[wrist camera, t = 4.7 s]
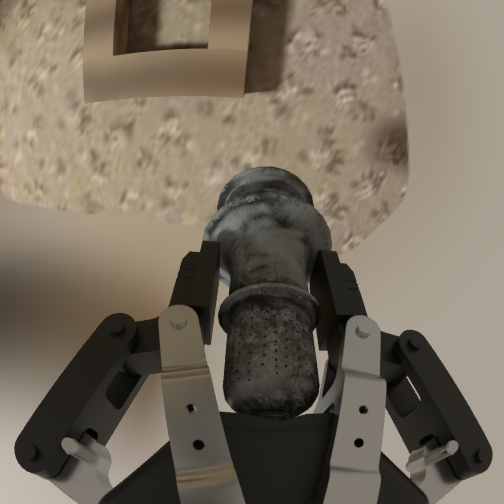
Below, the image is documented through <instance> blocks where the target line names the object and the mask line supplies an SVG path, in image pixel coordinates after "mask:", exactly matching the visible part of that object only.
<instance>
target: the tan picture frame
mask: <svg viewBox="0 0 504 504" xmlns="http://www.w3.org/2000/svg"><path fill="white" fill-rule="evenodd" d="M130 3H131V0H87V3H86V13H85V27H84V53H83V74H84V101H85V103H92V102H99V101H107V100H117V99H128V98H141V97H160V96H219V97H238V98H243V97H244V94H245V85H246V74H247V63H248V53H249V43H250V32H251V23H252V13H253V4H254V0H212V5H211V16H210V26H209V38H208V49H175V50H160V51H148V52H139V53H131V54H127V46H128V27H129V14H130Z"/></svg>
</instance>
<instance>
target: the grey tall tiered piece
mask: <svg viewBox="0 0 504 504" xmlns="http://www.w3.org/2000/svg"><path fill="white" fill-rule="evenodd" d="M203 240H206V241H219V242H220V243H221V247H220V278H219V281H221V282H223V283H224V284H225V285H227V286H229V287H230V288H229V296H228V297H227V298H226V299H225V300H224V301H223V303H222V304H221V306H220V309H219V312H218V319H219V324H220V326H221V327H222V329H223V331H224V332H226V333H227V343H226V356H225V367H224V380H223V391H224V396H225V400H226V402H227V403H228V404H229V406H230V407H231V408H232V409H233V410H234V411H235V412H237V413H245V414H249V415H253V416H256V417H260V418H264V419H268V420H272V421H282V420H286V419H290V418H294V417H297V416H299V415H300V414H301V413H303V412H305V411H306V410H308V409H309V408H310V407H311V406H312V405H313V403H314V402H315V400H316V398H317V396H318V393H319V386H320V385H319V378H318V369H317V361H316V354H315V346H314V339H313V330H314V329H315V328H316V326H317V325H318V323H319V321H320V317H321V312H320V306H319V303H318V302H317V300H316V299H315V297H314V296H312V295H311V294H310V293H309V292H308V285H307V284H309V283H310V277H311V273H312V270H313V266H314V263H315V259H316V256H317V253H318V251H319V250H327V251H331V248H332V240H331V233H330V229H329V227H328V225H327V223H326V221H325V219H324V217H323V216H322V215H321V214H320V213H319V212H318V211H317V210H316V209H315V208H314V205H313V200H312V195H311V193H310V192H309V190H308V188H307V186H306V185H305V184H304V183H303V182H302V181H301V180H300V179H299V178H298V177H297V176H296V175H294V174H292V173H290V172H289V171H287V170H284V169H280V168H276V167H256V168H252V169H248V170H245V171H243V172H241V173H240V174H238V175H236V176H234V177H233V178H232V179H231V180H230V181H229V182H228V183H227V184H226V185H225V187H224V189H223V190H222V192H221V194H220V196H219V201H218V206H217V212H216V213H215V214H214V215H213V216H212V217H211V219H210V221H209V223H208V225H207V226H206V228H205V230H204V236H203Z"/></svg>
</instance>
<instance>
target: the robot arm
mask: <svg viewBox="0 0 504 504" xmlns="http://www.w3.org/2000/svg"><path fill="white" fill-rule="evenodd" d="M220 247H221V243H220V242H219V241H206V240H203V242H202V246H201V250H200V252H191V251H190V252H189V253H188V254H187V255H186V256H185V257H184V258H183V259H182V262H181V266H180V270H179V273H178V277H177V279H176V283H175V286H174V290H173V293H172V297H171V300H170V304H169V307H168V308H166V309H165V310H164V311H163V312H162V313H161V314H160V316H159V317H157V318H154V319H150V320H144V321H138V322H135V321H134V319H133V318H132V317H131V316H129V315H127V314H124V313H116V314H112V315H110V316H108V317H106V318H105V319H104V320H103V321H102V323H101V324H100V325H99V326H98V327H97V329H96V330H95V331H94V333H93V334H92V335H91V336H90V338H89V339H88V340H87V341H86V343H85V344H84V345H83V346H82V348H81V349H80V350H79V352H78V353H77V354H76V356H75V357H74V358H73V359H72V361H71V362H70V363H69V365H68V366H67V367H66V369H65V370H64V371H63V373H62V374H61V375H60V377H59V378H58V379H57V381H56V382H55V383H54V385H53V386H52V388H51V389H50V390H49V392H48V393H47V395H46V396H45V398H44V399H43V400H42V402H41V403H40V405H39V406H38V408H37V409H36V411H35V412H34V413H33V415H32V416H31V418H30V419H29V421H28V422H27V424H26V426H25V427H24V429H23V430H22V432H21V433H20V435H19V436H18V438H17V440H16V442H15V447H14V448H15V449H14V450H15V456H16V459H17V461H18V463H19V464H20V466H21V467H22V468H23V469H25V470H26V471H28V472H30V473H33V474H35V475H38V476H40V477H42V478H44V479H47V480H49V481H51V482H52V483H53V484H54V485H55V486H57V487H58V488H59V489H60V490H61V491H63V492H64V493H65V494H67V495H68V496H69V497H70V498H72V499H73V500H74V501H76V502H77V503H78V504H435V503H436V502H437V501H439V500H440V499H441V498H442V497H444V496H445V495H446V494H447V493H448V492H450V491H451V490H452V489H453V488H454V487H455V486H456V485H457V484H459V483H460V482H461V481H462V480H465V479H468V478H470V477H473V476H475V475H478V474H480V473H483V472H484V471H486V470H487V469H488V467H489V466H490V464H491V461H492V448H491V446H490V444H489V442H488V440H487V438H486V436H485V434H484V432H483V430H482V428H481V427H480V425H479V423H478V421H477V419H476V418H475V416H474V414H473V412H472V411H471V409H470V407H469V405H468V404H467V402H466V400H465V399H464V397H463V395H462V394H461V392H460V390H459V389H458V387H457V385H456V384H455V382H454V381H453V379H452V377H451V376H450V374H449V373H448V371H447V370H446V368H445V367H444V365H443V363H442V362H441V360H440V359H439V357H438V356H437V354H436V353H435V351H434V350H433V349H432V347H431V346H430V344H429V343H428V341H427V340H426V338H425V337H424V336H423V335H422V334H421V333H419V332H417V331H414V330H406V331H404V332H403V333H402V334H401V335H400V336H395V335H392V334H388V333H385V332H382V331H380V328H379V326H378V325H377V323H376V322H375V321H373V320H372V319H371V318H369V317H368V316H367V313H366V309H365V306H364V303H363V300H362V297H361V293H360V291H359V287H358V284H357V283H356V278H355V275H354V272H353V271H352V270H351V269H350V267H349V266H348V265H347V264H343V263H340V261H339V258H338V255H337V252H336V251H327V250H319V251H318V253H317V256H316V259H315V263H314V266H313V270H312V273H311V277H310V294H311V295H312V296H314V297H315V299H316V300H317V302H318V303H319V306H320V312H321V317H320V321H319V323H318V325H317V326H316V332H317V339H318V345H319V350H320V351H325V350H326V351H328V359H327V360H326V363H325V368H324V374H323V379H322V384H321V389H320V395H319V400H318V403H317V405H316V408H315V410H314V413H313V414H305V415H301V416H298V417H294V418H290V419H286V420H282V421H272V420H268V419H264V418H260V417H256V416H253V415H249V414H245V413H231V412H219V409H218V405H217V401H216V396H215V392H214V388H213V383H212V379H211V374H210V370H209V367H208V365H207V361H206V356H205V351H204V345H205V344H207V345H211V338H212V331H213V323H214V315H215V308H216V300H217V293H218V286H219V278H220ZM155 373H161V384H162V392H163V400H164V407H165V415H166V421H167V428H168V434H169V441H168V442H167V443H166V444H165V445H164V446H163V447H162V448H160V449H159V450H158V451H157V452H156V453H155V454H154V455H153V456H151V457H150V458H149V459H148V460H147V461H146V462H145V463H143V464H142V465H141V466H140V467H139V468H137V469H136V470H135V471H134V472H133V473H132V474H130V475H129V476H128V477H127V478H125V479H124V480H123V481H122V482H120V483H119V484H118V485H117V486H116V487H114V488H113V487H112V486H111V484H110V482H109V479H108V472H109V469H110V466H111V455H110V453H109V451H108V449H107V448H106V447H105V445H106V444H107V442H108V440H109V439H110V437H111V435H112V434H113V432H114V430H115V429H116V427H117V426H118V424H119V422H120V421H121V419H122V417H123V416H124V414H125V413H126V411H127V409H128V408H129V406H130V404H131V403H132V401H133V400H134V398H135V396H136V395H137V393H138V391H139V390H140V388H141V387H142V385H143V384H144V382H145V380H146V379H147V377H148V375H149V374H155ZM407 376H408V377H409V379H410V381H411V382H412V384H413V386H414V387H415V389H416V391H417V392H418V394H419V396H420V398H421V401H420V400H419V398H418V396H417V394H416V393H415V391H414V389H413V388H412V386H411V384H410V383H409V381H408V379H407V378H406V377H407ZM385 407H386V409H387V411H388V413H389V415H390V417H391V419H392V420H393V422H394V424H395V426H396V428H397V429H398V432H399V434H400V436H401V437H402V439H403V441H404V443H405V445H406V447H407V449H408V451H409V453H410V456H409V460H408V462H407V464H406V470H407V471H408V472H410V478H408V477H407V476H406V475H405V474H404V473H403V472H402V471H401V470H400V469H399V468H398V467H397V466H396V465H395V464H394V463H393V462H392V461H391V460H390V459H389V458H388V457H387V456H386V455H385V454H383V453H382V451H381V446H382V437H383V428H384V417H385Z"/></svg>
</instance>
